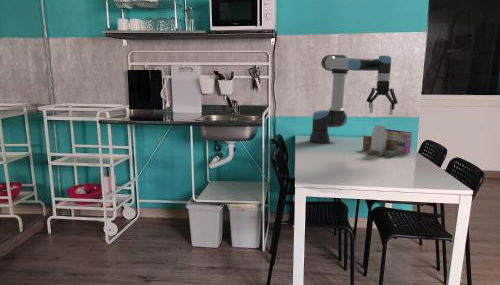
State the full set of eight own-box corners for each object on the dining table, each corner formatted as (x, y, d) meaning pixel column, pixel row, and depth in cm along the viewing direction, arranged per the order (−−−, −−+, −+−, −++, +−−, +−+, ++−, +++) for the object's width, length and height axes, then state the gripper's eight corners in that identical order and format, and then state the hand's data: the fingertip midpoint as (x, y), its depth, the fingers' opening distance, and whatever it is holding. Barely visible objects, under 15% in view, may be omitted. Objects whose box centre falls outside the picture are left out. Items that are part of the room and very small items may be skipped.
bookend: (384, 157, 248) (385, 151, 248) (392, 154, 256) (393, 148, 255) (388, 157, 247) (389, 151, 246) (396, 155, 254) (396, 149, 253)
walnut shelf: (354, 151, 263) (355, 137, 261) (363, 149, 271) (364, 135, 269) (387, 158, 246) (389, 142, 244) (397, 155, 254) (398, 140, 253)
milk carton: (374, 152, 262) (377, 124, 258) (385, 154, 257) (387, 125, 254) (370, 154, 257) (372, 125, 253) (380, 155, 252) (383, 126, 248)
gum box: (372, 148, 276) (373, 129, 274) (378, 146, 282) (379, 128, 279) (405, 153, 259) (407, 133, 257) (410, 152, 265) (412, 132, 262)
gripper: (362, 79, 254) (360, 112, 258) (399, 81, 237) (396, 116, 241) (368, 79, 259) (366, 111, 263) (405, 81, 242) (402, 115, 246)
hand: (380, 113), depth 252 cm, fingers open, 13 cm apart
